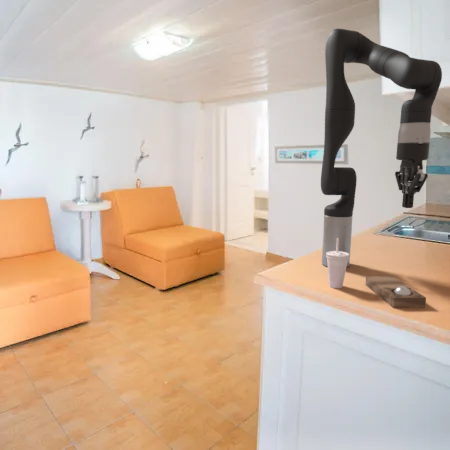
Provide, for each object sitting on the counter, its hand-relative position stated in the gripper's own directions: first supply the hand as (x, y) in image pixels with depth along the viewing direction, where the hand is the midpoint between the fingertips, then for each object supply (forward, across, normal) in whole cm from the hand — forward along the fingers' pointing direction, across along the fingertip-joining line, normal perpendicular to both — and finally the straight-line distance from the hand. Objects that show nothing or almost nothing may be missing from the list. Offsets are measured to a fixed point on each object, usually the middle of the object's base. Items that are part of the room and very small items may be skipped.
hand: (407, 207), depth 100 cm
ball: (+21, +9, -4) cm, 23 cm away
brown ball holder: (+23, +4, -4) cm, 24 cm away
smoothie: (+23, -3, -17) cm, 29 cm away
